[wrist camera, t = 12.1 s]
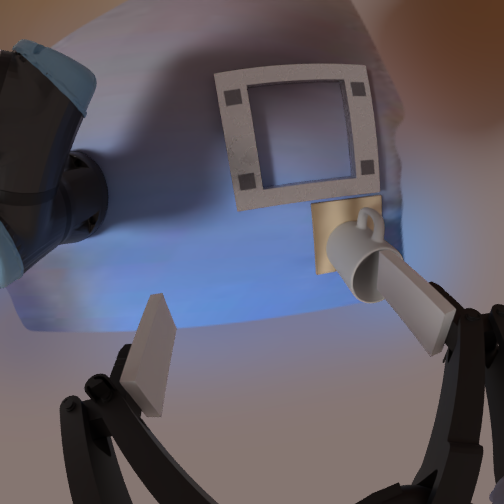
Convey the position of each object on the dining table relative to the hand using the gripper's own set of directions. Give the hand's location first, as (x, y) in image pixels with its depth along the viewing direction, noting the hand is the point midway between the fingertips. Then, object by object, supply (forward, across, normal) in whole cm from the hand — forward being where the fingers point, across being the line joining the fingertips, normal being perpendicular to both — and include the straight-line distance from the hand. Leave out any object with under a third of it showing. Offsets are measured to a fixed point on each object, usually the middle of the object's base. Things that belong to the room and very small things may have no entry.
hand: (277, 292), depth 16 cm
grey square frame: (+26, +10, +8) cm, 29 cm away
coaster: (+26, +15, -9) cm, 31 cm away
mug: (+25, +16, -9) cm, 31 cm away
